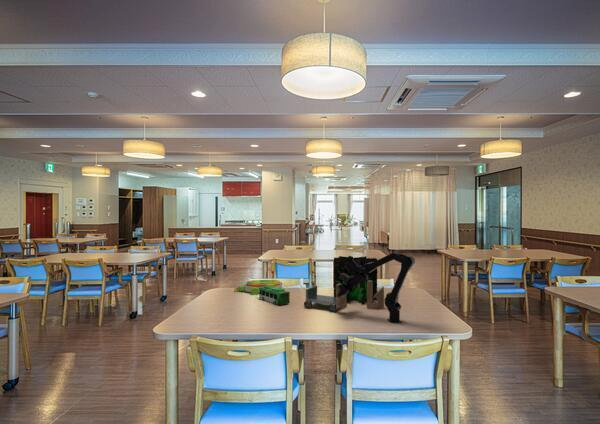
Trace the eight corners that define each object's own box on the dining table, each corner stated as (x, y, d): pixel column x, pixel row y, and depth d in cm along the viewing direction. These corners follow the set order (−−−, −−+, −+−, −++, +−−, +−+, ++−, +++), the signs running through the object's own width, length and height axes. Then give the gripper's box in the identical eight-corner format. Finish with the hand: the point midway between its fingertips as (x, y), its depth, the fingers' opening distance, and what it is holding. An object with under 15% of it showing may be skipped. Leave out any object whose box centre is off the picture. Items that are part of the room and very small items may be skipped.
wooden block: (383, 309, 232) (383, 281, 232) (367, 308, 233) (367, 281, 233) (383, 307, 236) (383, 280, 236) (366, 307, 237) (366, 280, 237)
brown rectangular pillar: (346, 306, 223) (346, 284, 223) (343, 308, 219) (343, 285, 219) (339, 305, 226) (339, 283, 226) (336, 307, 221) (335, 284, 222)
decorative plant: (352, 306, 239) (352, 261, 239) (326, 297, 265) (326, 256, 265) (384, 301, 254) (384, 258, 254) (357, 293, 279) (357, 254, 280)
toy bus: (272, 297, 266) (272, 283, 266) (290, 305, 243) (290, 290, 243) (258, 299, 261) (258, 285, 261) (275, 307, 238) (275, 292, 238)
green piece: (235, 288, 300) (235, 279, 300) (281, 287, 303) (281, 278, 303) (232, 296, 271) (232, 286, 271) (282, 295, 274) (282, 285, 274)
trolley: (346, 306, 238) (346, 288, 238) (336, 312, 223) (336, 293, 223) (315, 302, 249) (315, 285, 249) (303, 308, 234) (303, 289, 235)
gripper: (352, 267, 229) (337, 283, 234) (341, 271, 212) (324, 288, 218) (364, 280, 225) (348, 296, 230) (353, 285, 208) (336, 302, 214)
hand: (339, 295), depth 223 cm, fingers closed on brown rectangular pillar, 5 cm apart
